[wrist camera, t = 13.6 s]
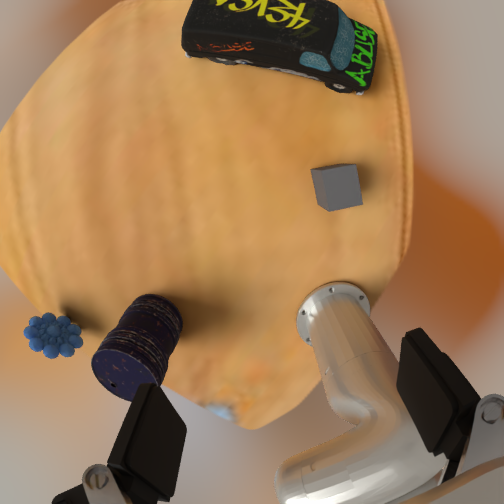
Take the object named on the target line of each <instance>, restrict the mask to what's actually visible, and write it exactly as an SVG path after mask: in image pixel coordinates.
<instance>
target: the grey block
mask: <svg viewBox="0 0 504 504" xmlns="http://www.w3.org/2000/svg"><path fill="white" fill-rule="evenodd" d="M311 174H312V179H313V183H314V188H315V193H316V198H317V203H318V205H320V206H321V207H323V208H324V209H326V210H327V211H329V212H330V211H335V210H339V209H344V208H349V207H353V206H358V205H363V202H362V196H361V189H360V184H359V178H358V173H357V167H356V164H336V165H331V166H325V167H320V168H315V169H311Z"/></svg>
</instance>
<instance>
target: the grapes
mask: <svg viewBox="0 0 504 504" xmlns="http://www.w3.org/2000/svg"><path fill="white" fill-rule="evenodd" d="M70 324H71V321H70V319H69V318H68V317H67V316H59V317H58V318H57V320H56V317H55V315H54V314H52V313H49V312H48V313H45V314H43V316H42V318H40V317H37V316H34V317H32V318H31V319H30V320H29V325H30V326H28V327H26V328H25V329H24V336H25V337H26V338H28V339H29V340H30V342H29V347H30V348H31V349H32V350H34V351H36V352H39V351H41V350H43V353H44V355H45V356H46V357H48V358H50V359H53V358H56V357H58V355H59V353H60V354H61V355H62V356H64V357H71V356H72V355H74V352H75V350H74V348H80V347H81V346H82V345H83V339H82V338H81V337H80V336H79V335H80V334H81V328H80V327H79V326H78V325H76V324H71V325H70Z"/></svg>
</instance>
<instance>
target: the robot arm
mask: <svg viewBox="0 0 504 504" xmlns="http://www.w3.org/2000/svg"><path fill="white" fill-rule="evenodd" d="M330 288H331V289H330ZM303 310H304V311H303ZM369 317H370V303H369V300H368V298H367V296H366V295H365V294H364V292H363V291H362V290H361V289H360V288H358V287H357V286H355V285H353V284H350V283H346V282H333V283H328V284H325V285H323V286H320V287H319V288H317V289H315V290H314V291H312V292H311V293H310V294H309V295H308V296H307V297H306V298H305V299H304V300H303V302H302V303H301V305H300V307H299V309H298V312H297V317H296V326H297V330H298V333H299V335H300V337H301V338H302V339H303V341H304V342H306V343H307V344H308V345H310V346H312V347H313V349H314V353H315V356H316V360H317V363H318V367H319V370H320V374H321V377H322V381H323V384H324V388H325V391H326V395H327V399H328V402H329V404H330V407H331V408H332V410H333V411H334V412H335V413H336V414H337V415H338V416H339V417H340V418H342V419H343V420H345V421H347V422H349V423H352V424H354V425H357V426H356V427H354V428H353V429H351V430H349V431H347V432H345V433H344V434H342V435H340V436H338V437H336V438H334V439H331V440H329V441H327V442H325V443H322V444H320V445H318V446H316V447H313V448H310V449H308V450H306V451H303V452H301V453H299V454H296V455H294V456H292V457H290V458H289V459H287V460H286V461H284V462H283V463H282V464H281V465H280V467H279V468H278V470H277V472H276V474H275V479H274V486H275V492H276V495H277V498H278V500H279V503H280V504H504V397H503V396H501V395H498V394H490V395H487V396H485V397H484V398H482V399H481V398H480V396H479V395H478V394H477V392H476V391H475V390H474V388H473V387H472V386H471V384H470V383H469V382H468V380H467V379H466V378H465V376H464V375H463V374H462V373H461V371H460V370H459V369H458V367H457V366H456V365H455V364H454V362H453V361H452V360H451V359H450V358H449V356H447V354H445V353H443V352H441V351H440V350H439V348H438V347H437V346H436V345H435V343H434V342H433V341H432V340H431V339H430V338H429V337H428V335H427V334H426V333H425V332H424V331H423V329H422V328H416V329H414V330H411V331H408V332H406V334H405V337H403V338H402V343H401V352H400V361H399V362H398V361H397V359H396V358H395V356H394V354H393V353H392V351H391V349H390V348H389V346H388V345H387V343H386V342H385V340H384V339H383V337H382V336H381V334H380V333H379V331H378V330H377V328H376V327H375V325H374V324H373V322H372V321H371V319H370V318H369ZM186 433H187V428H186V425H185V423H184V422H183V420H182V419H181V417H180V416H179V414H178V413H177V412H176V410H175V409H174V407H173V406H172V404H171V403H170V401H169V400H168V398H167V397H166V395H165V393H164V392H163V390H162V389H161V387H160V386H157V385H156V384H155V383H141V384H140V385H139V387H138V389H137V391H136V394H135V396H134V398H133V400H132V403H131V405H130V407H129V410H128V412H127V414H126V417H125V419H124V421H123V424H122V427H121V429H120V431H119V433H118V436H117V438H116V441H115V443H114V446H113V448H112V451H111V453H110V456H109V458H108V461H107V463H108V464H107V466H105V465H102V464H95V465H92V466H90V467H88V468H87V469H86V471H85V472H84V474H83V477H82V484H80V485H78V486H76V487H74V488H72V489H70V490H67V491H65V492H63V493H61V494H58V495H57V496H55V498H54V499H53V501H52V504H157V501H164V502H169V501H170V497H172V496H173V495H174V492H175V487H176V481H177V477H178V472H179V467H180V462H181V456H182V452H183V447H184V442H185V437H186ZM444 465H445V467H444ZM443 467H444V469H442V468H443Z"/></svg>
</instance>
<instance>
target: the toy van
mask: <svg viewBox="0 0 504 504" xmlns="http://www.w3.org/2000/svg"><path fill="white" fill-rule="evenodd" d="M377 37H378V35H377V34H376V33H375V31H373V30H372V29H371V28H369V27H367V26H365V25H363V24H361V23H359V22H357V21H355V20H353V19H351V18H348V17H347V16H346V14H345V13H344V12H343V11H342V10H341V9H340V8H339V7H338V5H336V4H335V3H332V2H330V1H327V0H193V1H192V4H191V6H190V8H189V11H188V13H187V16H186V18H185V21H184V24H183V27H182V41H181V45H182V48H183V49H184V51H186V54H185V56H186V57H188V58H192V57H198V58H203V57H207V58H208V59H209V60H211V61H213V62H216V63H223V64H225V65H235V64H236V62H237V63H241V64H247V65H252V66H256V67H261V68H266V69H271V70H276V71H281V72H286V73H291V74H295V75H299V76H303V77H307V78H311V79H314V80H318V81H323V82H325V86H326V87H328V88H329V89H332V90H334V91H336V92H339V93H351V92H352V91H353V90H355V91H356V95H362V94H363V93H364V90H367V89H368V88H369V87H370V85H371V81H372V77H373V73H374V68H375V62H376V55H377ZM188 55H189V56H188ZM191 56H192V57H191Z"/></svg>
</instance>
